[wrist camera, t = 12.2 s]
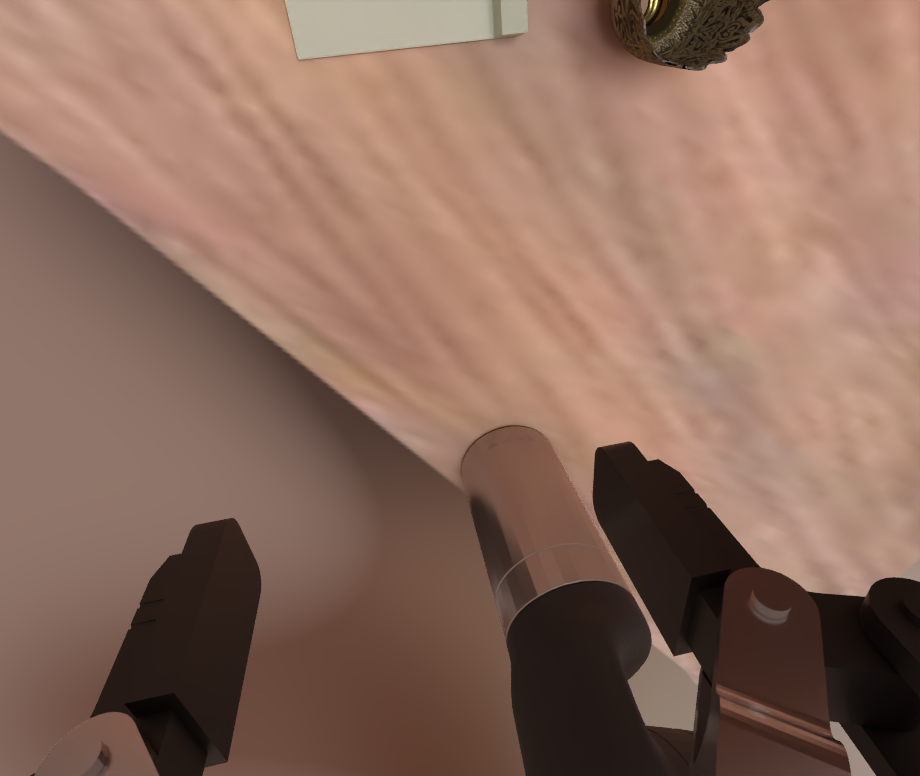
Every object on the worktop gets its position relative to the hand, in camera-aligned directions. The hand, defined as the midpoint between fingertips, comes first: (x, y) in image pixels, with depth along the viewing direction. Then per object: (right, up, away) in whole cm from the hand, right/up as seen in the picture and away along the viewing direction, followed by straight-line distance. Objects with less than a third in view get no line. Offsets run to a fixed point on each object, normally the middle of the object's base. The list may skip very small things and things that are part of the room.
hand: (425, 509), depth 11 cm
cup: (+12, +27, +20) cm, 35 cm away
